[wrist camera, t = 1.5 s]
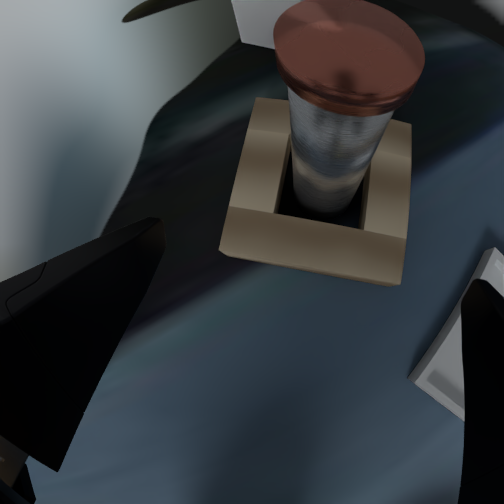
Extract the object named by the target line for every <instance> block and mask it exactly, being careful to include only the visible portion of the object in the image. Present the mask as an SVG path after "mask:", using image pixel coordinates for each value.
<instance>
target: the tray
mask: <svg viewBox="0 0 504 504" xmlns="http://www.w3.org/2000/svg"><path fill="white" fill-rule="evenodd" d="M476 278H478V279H483V280H486V281H488V282H489V283H490V284H491V285H492V286H493V287H494V288H495V289H496V290H497V291H498V292H499V293H500V294H501V295H502V296H503V297H504V256H503V255H502V254H501V253H500V252H499V251H498V250H497V249H496V248H495V247H494V248H491V249H488V250H485V251H484V253H483V255H482V257H481V259H480V261H479V263H478V265H477V267H476V269H475V271H474V273H473V275H472V277H471V279H470V281H469V283H468V285H467V286H466V288H465V290H464V292H463V294H462V295H461V297H460V299H459V301H458V302H457V304H456V306H455V308H454V309H453V311H452V313H451V314H450V316H449V318H448V319H447V321H446V322H445V324H444V326H443V327H442V329H441V330H440V332H439V334H438V335H437V337H436V338H435V340H434V341H433V343H432V344H431V346H430V347H429V349H428V350H427V351H426V353H425V354H424V356H423V357H422V359H421V360H420V361H419V363H418V364H417V366H416V367H415V368H414V370H413V371H412V372H411V374H410V375H409V376H408V379H409V380H410V381H412V382H413V383H414V384H415V385H417V386H418V387H419V388H421V389H422V390H423V391H425V392H426V393H427V394H429V395H430V396H431V397H432V398H434V399H435V400H436V401H438V402H439V403H440V404H442V405H443V406H444V407H446V408H447V409H448V410H450V411H451V412H452V413H453V414H455V415H456V416H457V417H459V418H460V419H461V420H463V421H465V408H464V378H463V363H462V335H461V301H462V298H463V297H464V295H465V293H466V291H467V290H468V288H469V286H470V284H471V283H472V281H473V280H474V279H476Z"/></svg>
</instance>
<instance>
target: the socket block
mask: <svg viewBox="0 0 504 504" xmlns="http://www.w3.org/2000/svg"><path fill="white" fill-rule="evenodd" d="M290 151H292V144H291V127H290V111H289V101H288V100H279V99H270V98H259V97H256V100H255V104H254V107H253V111H252V115H251V119H250V123H249V126H248V130H247V134H246V138H245V142H244V146H243V150H242V154H241V158H240V162H239V166H238V170H237V174H236V178H235V182H234V187H233V191H232V195H231V199H230V203H229V207H228V212H227V216H226V220H225V225H224V229H223V233H222V238H221V242H220V246H219V250H220V251H221V252H223V253H224V254H226V255H227V256H230V257H236V258H241V259H246V260H251V261H256V262H261V263H266V264H272V265H277V266H282V267H287V268H292V269H298V270H303V271H308V272H313V273H319V274H324V275H329V276H334V277H340V278H345V279H350V280H356V281H361V282H366V283H372V284H377V285H383V286H388V287H390V286H395V285H400V284H401V278H402V271H403V263H404V256H405V247H406V238H407V228H408V216H409V203H410V184H411V124H408V123H404V122H400V121H396V120H392V119H390V121H389V123H388V125H387V128H386V130H385V132H384V134H383V136H382V139H381V141H380V143H379V145H378V147H377V149H376V151H375V153H374V156H373V158H372V160H371V162H370V164H369V166H368V168H367V170H366V172H365V174H364V182H363V192H362V200H361V209H360V217H359V224H358V229H356V228H351V227H345V226H340V225H335V224H330V223H325V222H319V221H314V220H308V219H303V218H297V217H292V216H286V215H280V214H278V211H279V206H280V201H281V196H282V191H283V185H284V180H285V175H286V170H287V165H288V160H289V154H290Z"/></svg>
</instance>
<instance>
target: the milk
mask: <svg viewBox="0 0 504 504" xmlns="http://www.w3.org/2000/svg"><path fill="white" fill-rule="evenodd" d="M231 1H232V5H233V9H234V13H235V17H236V21H237V25H238V29H239V33H240V37H241V41H242V42H243V43H248V44H253V45H257V46H262V47H267V48H271V49H275V46H274V38H273V29H274V26H275V23H276V21H277V19H278V18H279V17H280V15H281V14H282V13H283V12H284V11H286V10H287V9H288V8H290V7H291V6H293V5H295V4H297V3H299V2H302V1H305V0H231Z"/></svg>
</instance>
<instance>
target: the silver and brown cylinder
mask: <svg viewBox="0 0 504 504" xmlns="http://www.w3.org/2000/svg"><path fill="white" fill-rule="evenodd" d="M273 38H274V46H275V54H276V62H277V68H278V71H279V74H280V75H281V77H282V79H283V81H284V82H285V83H286V85H287V86H288V96H289V111H290V127H291V144H292V164H293V187H294V198H295V201H296V204H297V206H298V207H299V209H300V210H301V211H302V212H303V213H304V214H305V215H307V216H308V217H310V218H312V219H315V220H320V221H328V220H332V219H335V218H337V217H339V216H340V215H342V214H343V213H344V212H345V211H346V210H347V208H348V206H349V204H350V202H351V200H352V198H353V196H354V194H355V192H356V190H357V188H358V186H359V184H360V182H361V180H362V178H363V176H364V174H365V172H366V170H367V168H368V166H369V164H370V162H371V160H372V158H373V156H374V153H375V151H376V149H377V147H378V145H379V143H380V141H381V139H382V136H383V134H384V132H385V130H386V128H387V125H388V123H389V121H390V119H391V117H392V114H393V112H394V110H395V109H397V108H399V107H400V106H402V105H403V104H404V103H405V102H406V101H407V100H408V99H409V98H410V96H411V94H412V92H413V90H414V88H415V86H416V83H417V81H418V79H419V77H420V75H421V73H422V70H423V68H424V64H425V54H424V49H423V46H422V44H421V42H420V40H419V38H418V37H417V35H416V34H415V32H414V31H413V30H412V29H411V28H410V27H409V26H408V25H407V24H406V23H405V22H404V21H403V20H401V19H400V18H399V17H397V16H396V15H394V14H393V13H391V12H390V11H388V10H386V9H384V8H382V7H380V6H377V5H375V4H372V3H369V2H366V1H363V0H305V1H302V2H299V3H297V4H295V5H293V6H291V7H290V8H288V9H287V10H286V11H284V12H283V13H282V14H281V15H280V17H279V18H278V19H277V21H276V23H275V26H274V29H273Z"/></svg>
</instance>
